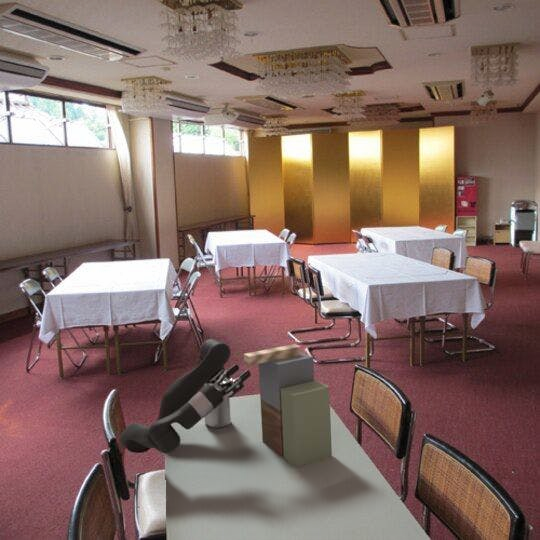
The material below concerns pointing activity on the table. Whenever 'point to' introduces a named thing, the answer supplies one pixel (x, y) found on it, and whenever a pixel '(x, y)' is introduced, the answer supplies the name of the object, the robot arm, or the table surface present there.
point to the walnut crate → (272, 427)
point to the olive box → (306, 422)
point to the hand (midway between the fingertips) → (243, 368)
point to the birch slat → (272, 354)
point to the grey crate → (284, 376)
